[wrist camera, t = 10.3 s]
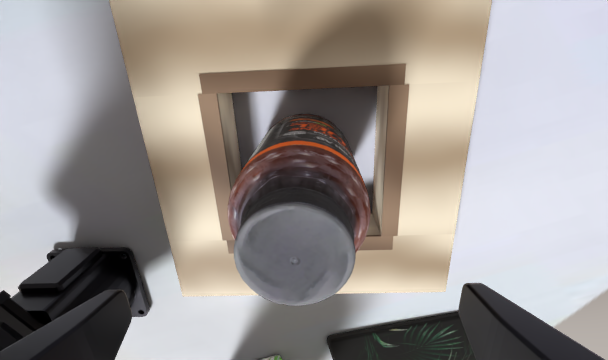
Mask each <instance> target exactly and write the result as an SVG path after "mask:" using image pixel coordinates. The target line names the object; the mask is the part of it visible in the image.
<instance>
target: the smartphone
mask: <svg viewBox="0 0 608 360" xmlns="http://www.w3.org/2000/svg"><path fill="white" fill-rule="evenodd" d="M327 343H328V346H329V349H330V352H331V355H332V358H333V360H476V358H475V355H474V353H473V350H472V347H471V345H470V342H469V339H468V337H467V334H466V332H465V329H464V326H463V324H462V321H461V318H460V315H459V312H454V313H449V314H443V315H438V316H432V317H427V318H421V319H416V320H410V321H405V322H399V323H394V324H388V325H383V326H378V327H372V328H367V329H361V330H356V331H350V332H345V333H340V334H335V335H330V336H329V337H328V338H327Z"/></svg>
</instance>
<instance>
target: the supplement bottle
mask: <svg viewBox="0 0 608 360" xmlns="http://www.w3.org/2000/svg"><path fill="white" fill-rule="evenodd" d="M370 215H371V211H370V201H369V196H368V192H367V189H366V187H365V184H364V181H363V178H362V176H361V174H360V171H359V169H358V167H357V164H356V162H355V160H354V157H353V155H352V151H351V150H350V147H349V145H348V142H347V140H346V139H345V137H344V135H343V134H342V132H341V131H340V130H339V129H338V128H337V127H336V126H335V125H334V124H332V123H331V122H330V121H328V120H326V119H324V118H322V117H320V116H316V115H310V114H299V115H294V116H290V117H287V118H284V119H283V120H281V121H279V122H278V123H277V124H276V125H274V126H273V127H272V128H271V129H270V130H269V132H268V133H267V134H266V135H265V137H264V138H263V140H262V141H261V143H260V144H259V146H258V147H257V149H256V150H255V151H254V153H253V154H252V156H251V157H250V159H249V160H248V162H247V163H246V164H245V166H244V168H243V169H242V171H241V172H240V174H239V175H238V177H237V179H236V181H235V183H234V185H233V187H232V190H231V192H230V197H229V202H228V221H229V226H230V230H231V233H232V236H233V238H234V240H235V244H234V260H235V264H236V268H237V270H238V272H239V274H240V276H241V278H242V279H243V281H244V282H245V283H246V284H247V285H248V286H249V287H250V288H251V289H252V290H253V291H254V292H256V293H257V294H258V295H259V296H262V297H263V298H265V299H267V300H270V301H272V302H275V303H277V304H285V305H289V306H303V305H309V304H313V303H318V302H320V301H322V300H324V299H327V298H329V297H330V296H332V295H334V294H335V293H337V292H338V291H339V290H340V289H341V288H342V287H343V286H344V285H345V284H346V282H347V281H348V279H349V278H350V276H351V274H352V271H353V269H354V264H355V258H356V253H357V251H358V250H359V249H360V247H361V245H362V243H363V242H364V240H365V237H366V235H367V232H368V228H369V224H370Z"/></svg>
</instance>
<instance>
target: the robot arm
mask: <svg viewBox="0 0 608 360" xmlns="http://www.w3.org/2000/svg"><path fill="white" fill-rule="evenodd" d="M124 254H125V255H126V256H125V255H124ZM47 259H48V261H49V262H48V263H47V264H46V265H44V266H43V267H42V268H40V269H39V270H38V271H36V272H35V273H34V274H32V275H31V276H30V277H28V278H27V279H26V280H24V281H23V282H22V283H21V284H20V285H19V287H18V289H19V292H18V293H17V294H16V295H14V296H13V297H12V298H10V297H11V296H10V295H9V294H8V293H7V292H5V291H4V290H3V291H1V292H0V360H115V357H116V355H117V353H118V350H119V348H120V346H121V344H122V341H123V339H124V337H125V334H126V332H127V330H128V327H129V325H130V323H131V319H132V317H143V316H146V315H147V313H148V312H149V310H150V308H149V305H148V302H147V298H146V295H145V292H144V289H143V285H142V282H141V279H140V276H139V272H138V269H137V266H136V263H135V259H134V256H133V253H132V251H131V250H130V249H128V248H67V249H59V250H52V251H51V252H50V253H48V254H47ZM459 315H460V318H461V321H462V324H463V326H464V329H465V332H466V334H467V337H468V339H469V342H470V345H471V347H472V350H473V353H474V355H475V358H476V360H605V359H603V358H601V357H600V356H598V355H597V354H595V353H593V352H592V351H590V350H589V349H587V348H585V347H584V346H582V345H581V344H579V343H577V342H576V341H574V340H572V339H571V338H569V337H568V336H566V335H564V334H563V333H561V332H560V331H558V330H556V329H555V328H553V327H552V326H550V325H548V324H547V323H545V322H544V321H542V320H540V319H539V318H537V317H536V316H534V315H532V314H531V313H529V312H527V311H526V310H524V309H523V308H521V307H519V306H518V305H516V304H515V303H513V302H511V301H510V300H508V299H507V298H505V297H503V296H502V295H500V294H499V293H497V292H495V291H494V290H492V289H490V288H489V287H487V286H486V285H484V284H482V283H466V284H464V286H463V288H462V293H461V298H460V304H459Z"/></svg>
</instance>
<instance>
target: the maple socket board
mask: <svg viewBox="0 0 608 360" xmlns="http://www.w3.org/2000/svg"><path fill="white" fill-rule="evenodd" d="M109 2H110V6H111V10H112V14H113V18H114V22H115V26H116V30H117V34H118V38H119V42H120V46H121V50H122V54H123V58H124V62H125V66H126V70H127V74H128V78H129V82H130V86H131V91H132V95H133V99H134V103H135V107H136V111H137V115H138V119H139V123H140V127H141V131H142V135H143V139H144V143H145V147H146V151H147V155H148V159H149V163H150V167H151V171H152V175H153V179H154V183H155V187H156V191H157V195H158V199H159V203H160V207H161V211H162V215H163V219H164V223H165V227H166V231H167V235H168V239H169V243H170V247H171V251H172V255H173V259H174V263H175V267H176V271H177V275H178V279H179V283H180V287H181V291H182V295H183V296H239V295H258V294H257V293H256V292H254V291H253V290H252V289H251V288H250V287H249V286H248V285H247V284H246V283H245V282H244V281H243V279H242V278H241V276H240V274H239V272H238V270H237V268H236V264H235V260H234V244H235V240H234V238H233V236H232V233H231V230H230V226H229V221H228V202H229V197H230V192H231V190H232V187H233V185H234V183H235V181H236V179H237V177H238V175H239V174H240V172H241V171H242V168H241V161H240V153H239V146H238V138H237V130H236V123H235V115H234V108H233V100H232V93H236V92H258V91H279V90H301V89H322V88H343V87H365V86H377V108H376V132H375V156H374V180H373V205H372V213H371V215H370V224H369V228H368V232H367V235H366V237H365V240H364V242H363V243H362V245H361V247H360V249H359V250H358V251H357V253H356V258H355V264H354V269H353V271H352V274H351V276H350V278H349V279H348V281H347V282H346V284H345V285H344V286H343V287H342V288H341V289H340V290H339V291H338V292H337V293H335V294H350V293H406V292H445V291H446V285H447V278H448V272H449V266H450V260H451V253H452V247H453V241H454V235H455V228H456V222H457V216H458V210H459V203H460V197H461V191H462V185H463V178H464V172H465V166H466V160H467V153H468V147H469V141H470V135H471V128H472V122H473V116H474V110H475V104H476V97H477V91H478V85H479V79H480V72H481V66H482V60H483V54H484V47H485V41H486V35H487V29H488V22H489V16H490V10H491V4H492V0H109Z"/></svg>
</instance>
